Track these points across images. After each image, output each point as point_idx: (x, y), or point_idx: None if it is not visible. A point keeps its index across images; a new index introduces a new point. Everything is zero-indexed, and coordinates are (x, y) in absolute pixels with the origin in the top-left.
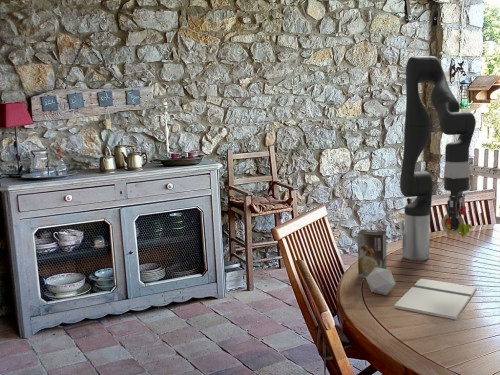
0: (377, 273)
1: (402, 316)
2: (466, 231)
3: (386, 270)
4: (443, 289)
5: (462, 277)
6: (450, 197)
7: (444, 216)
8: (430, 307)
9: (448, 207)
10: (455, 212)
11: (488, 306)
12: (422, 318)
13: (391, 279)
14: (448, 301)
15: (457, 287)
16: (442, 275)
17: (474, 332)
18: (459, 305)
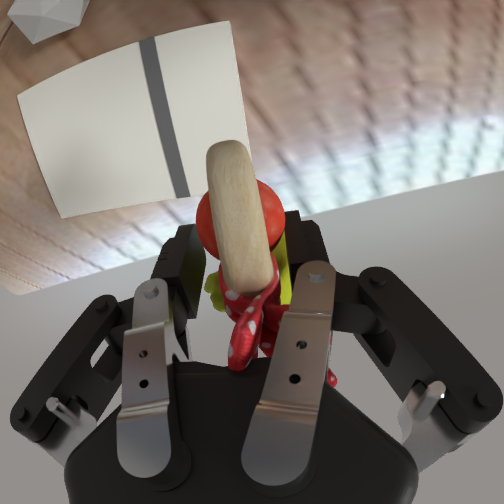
0: (8, 15)
1: (6, 135)
2: None
3: (31, 15)
4: (177, 121)
5: (338, 120)
6: (65, 468)
7: (211, 200)
8: (56, 159)
9: (41, 375)
10: (97, 371)
11: (166, 239)
12: (25, 167)
13: (46, 32)
14: (111, 171)
15: None
16: (324, 60)
17: (54, 255)
18: (109, 200)
